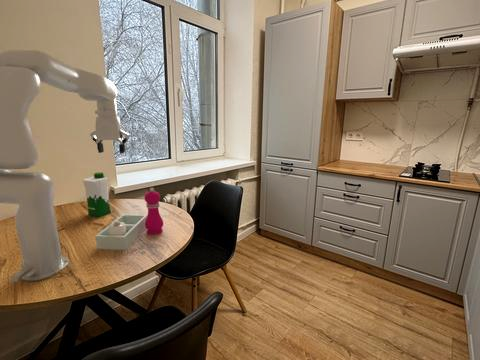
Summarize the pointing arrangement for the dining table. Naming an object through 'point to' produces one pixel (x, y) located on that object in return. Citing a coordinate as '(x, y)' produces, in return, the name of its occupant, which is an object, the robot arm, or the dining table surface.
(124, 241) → the grey divided tray
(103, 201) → the milk carton
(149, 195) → the pepper mill
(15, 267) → the dining table surface
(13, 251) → the dining table surface
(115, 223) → the salt cellar
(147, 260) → the dining table surface
